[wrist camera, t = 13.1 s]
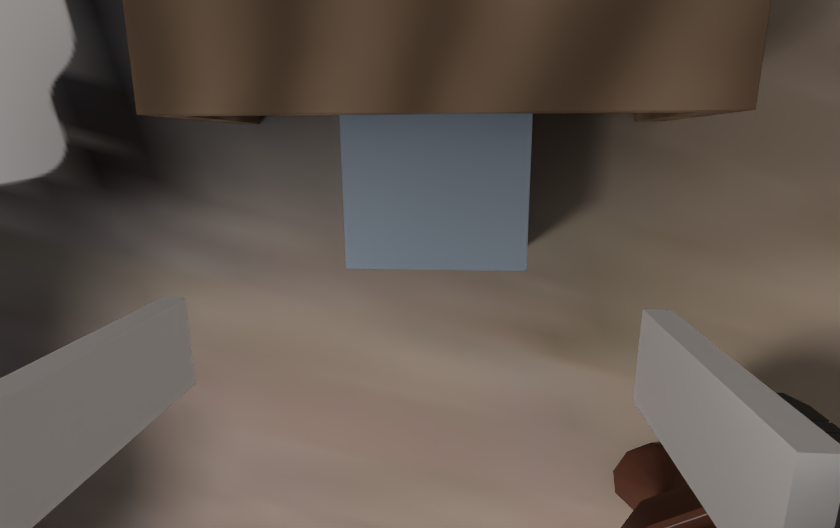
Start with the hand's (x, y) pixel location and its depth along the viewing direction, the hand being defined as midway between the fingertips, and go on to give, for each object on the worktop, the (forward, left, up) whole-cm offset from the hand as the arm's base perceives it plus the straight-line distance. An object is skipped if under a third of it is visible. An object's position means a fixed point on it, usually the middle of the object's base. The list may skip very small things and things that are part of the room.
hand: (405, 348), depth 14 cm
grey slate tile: (0, +8, -19) cm, 20 cm away
